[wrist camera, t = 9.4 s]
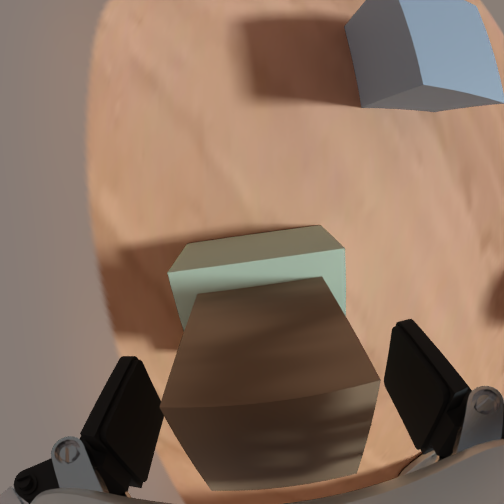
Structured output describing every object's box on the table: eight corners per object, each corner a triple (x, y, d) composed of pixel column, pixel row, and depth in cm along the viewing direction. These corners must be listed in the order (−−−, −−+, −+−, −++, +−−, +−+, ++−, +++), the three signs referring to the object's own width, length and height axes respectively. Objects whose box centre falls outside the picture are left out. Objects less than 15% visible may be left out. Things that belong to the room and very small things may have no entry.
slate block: (417, 37, 11) (476, 5, 5) (434, 112, 13) (505, 103, 7) (343, 27, 11) (388, -26, 5) (361, 107, 13) (423, 84, 7)
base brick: (320, 224, 15) (344, 248, 11) (325, 336, 17) (342, 379, 13) (187, 243, 15) (167, 272, 11) (213, 351, 17) (205, 397, 13)
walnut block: (322, 276, 11) (380, 379, 5) (324, 369, 13) (356, 473, 7) (197, 293, 11) (159, 407, 6) (221, 383, 13) (211, 490, 7)
